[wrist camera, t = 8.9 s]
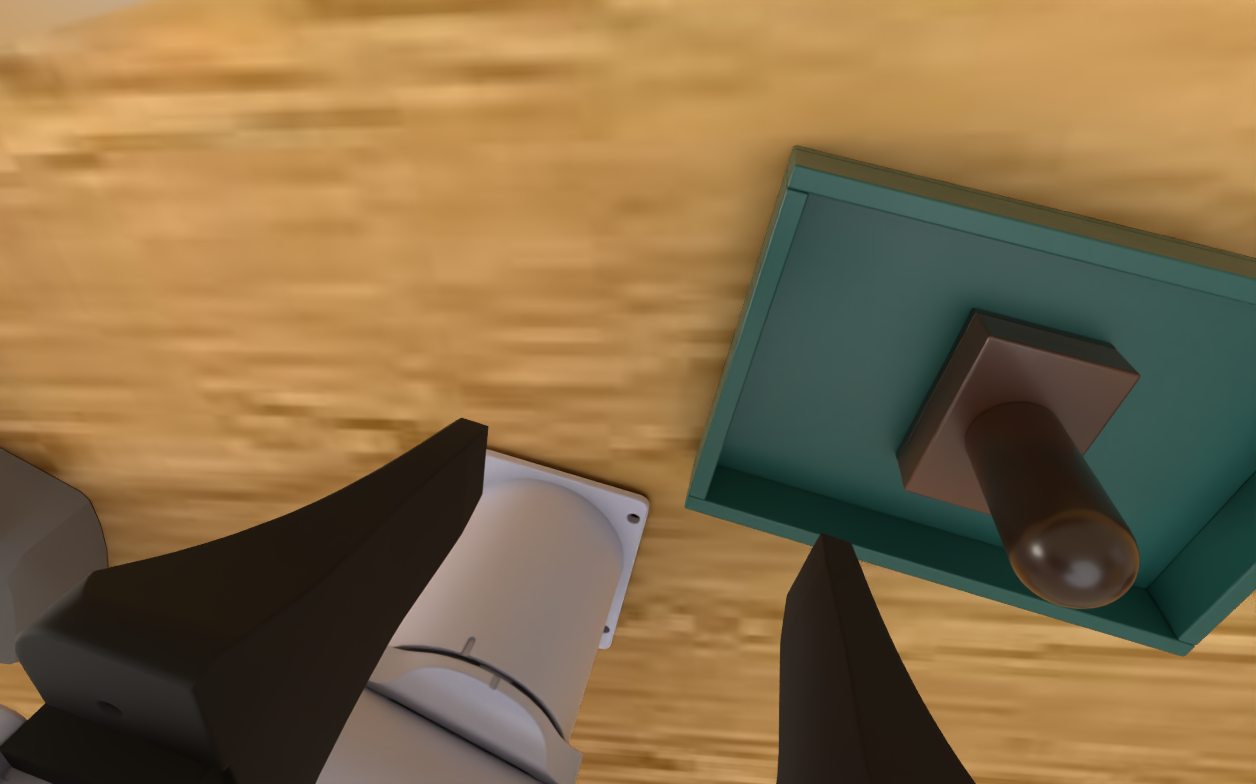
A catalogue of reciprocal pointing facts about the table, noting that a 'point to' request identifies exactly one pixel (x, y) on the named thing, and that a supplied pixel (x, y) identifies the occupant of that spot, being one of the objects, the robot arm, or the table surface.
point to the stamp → (1029, 452)
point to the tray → (918, 346)
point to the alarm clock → (40, 545)
